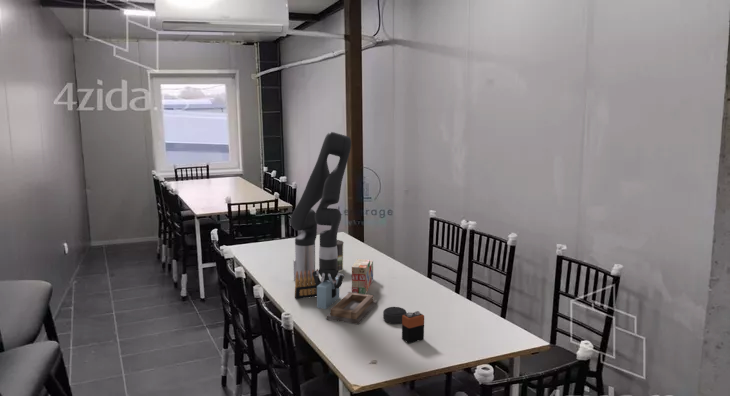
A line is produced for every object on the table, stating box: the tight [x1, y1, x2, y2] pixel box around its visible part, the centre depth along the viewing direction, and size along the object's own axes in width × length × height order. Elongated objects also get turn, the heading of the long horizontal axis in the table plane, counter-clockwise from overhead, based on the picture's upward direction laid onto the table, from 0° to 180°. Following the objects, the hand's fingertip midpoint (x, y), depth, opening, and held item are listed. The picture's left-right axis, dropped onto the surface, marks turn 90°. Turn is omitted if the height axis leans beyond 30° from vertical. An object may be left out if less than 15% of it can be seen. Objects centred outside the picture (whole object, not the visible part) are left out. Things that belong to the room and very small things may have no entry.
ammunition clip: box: [294, 268, 319, 300], centre depth 233 cm, size 11×2×12 cm, turn 112°
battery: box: [401, 310, 425, 344], centre depth 192 cm, size 4×7×10 cm, turn 121°
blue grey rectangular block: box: [316, 276, 340, 310], centre depth 227 cm, size 4×14×9 cm, turn 161°
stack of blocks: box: [351, 258, 374, 295], centre depth 248 cm, size 21×6×12 cm, turn 170°
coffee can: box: [337, 239, 344, 273], centre depth 272 cm, size 10×10×14 cm
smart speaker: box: [382, 306, 408, 325], centre depth 210 cm, size 9×9×4 cm
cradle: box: [326, 291, 378, 325], centre depth 217 cm, size 13×22×4 cm, turn 160°
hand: (328, 296), depth 227 cm, fingers closed on blue grey rectangular block, 4 cm apart
